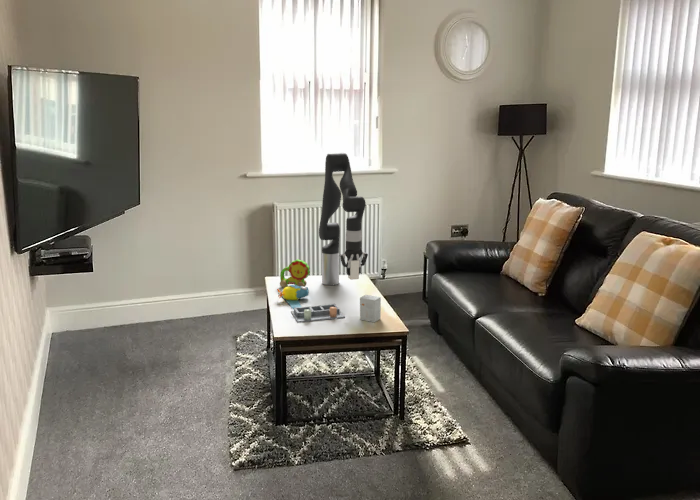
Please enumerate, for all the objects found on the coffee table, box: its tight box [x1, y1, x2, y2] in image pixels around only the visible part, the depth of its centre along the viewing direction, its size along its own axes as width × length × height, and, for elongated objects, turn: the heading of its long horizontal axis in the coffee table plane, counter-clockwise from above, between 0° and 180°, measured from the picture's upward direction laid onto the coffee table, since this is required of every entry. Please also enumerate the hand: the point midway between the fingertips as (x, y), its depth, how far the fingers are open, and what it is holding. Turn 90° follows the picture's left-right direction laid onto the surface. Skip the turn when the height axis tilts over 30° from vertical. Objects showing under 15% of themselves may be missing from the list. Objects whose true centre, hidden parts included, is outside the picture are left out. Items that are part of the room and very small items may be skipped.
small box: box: [359, 294, 382, 323], centre depth 283 cm, size 8×6×10 cm
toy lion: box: [279, 258, 311, 288], centre depth 329 cm, size 16×5×15 cm, turn 76°
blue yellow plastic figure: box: [276, 284, 310, 311], centre depth 309 cm, size 28×9×15 cm
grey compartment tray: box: [290, 303, 346, 324], centre depth 288 cm, size 14×22×5 cm, turn 107°
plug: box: [347, 260, 360, 280], centre depth 293 cm, size 4×4×9 cm
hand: (353, 274), depth 294 cm, fingers closed on plug, 4 cm apart
